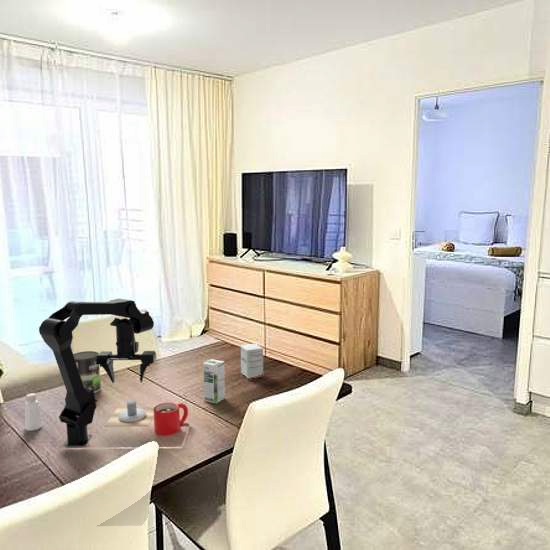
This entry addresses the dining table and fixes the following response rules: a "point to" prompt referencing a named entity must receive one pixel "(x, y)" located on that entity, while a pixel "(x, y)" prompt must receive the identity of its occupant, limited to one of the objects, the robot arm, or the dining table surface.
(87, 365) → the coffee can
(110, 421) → the mat
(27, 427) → the pepper shaker
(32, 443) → the dining table surface
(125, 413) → the lid
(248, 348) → the supplement box
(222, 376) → the syrup box
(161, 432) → the mug
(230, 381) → the dining table surface
